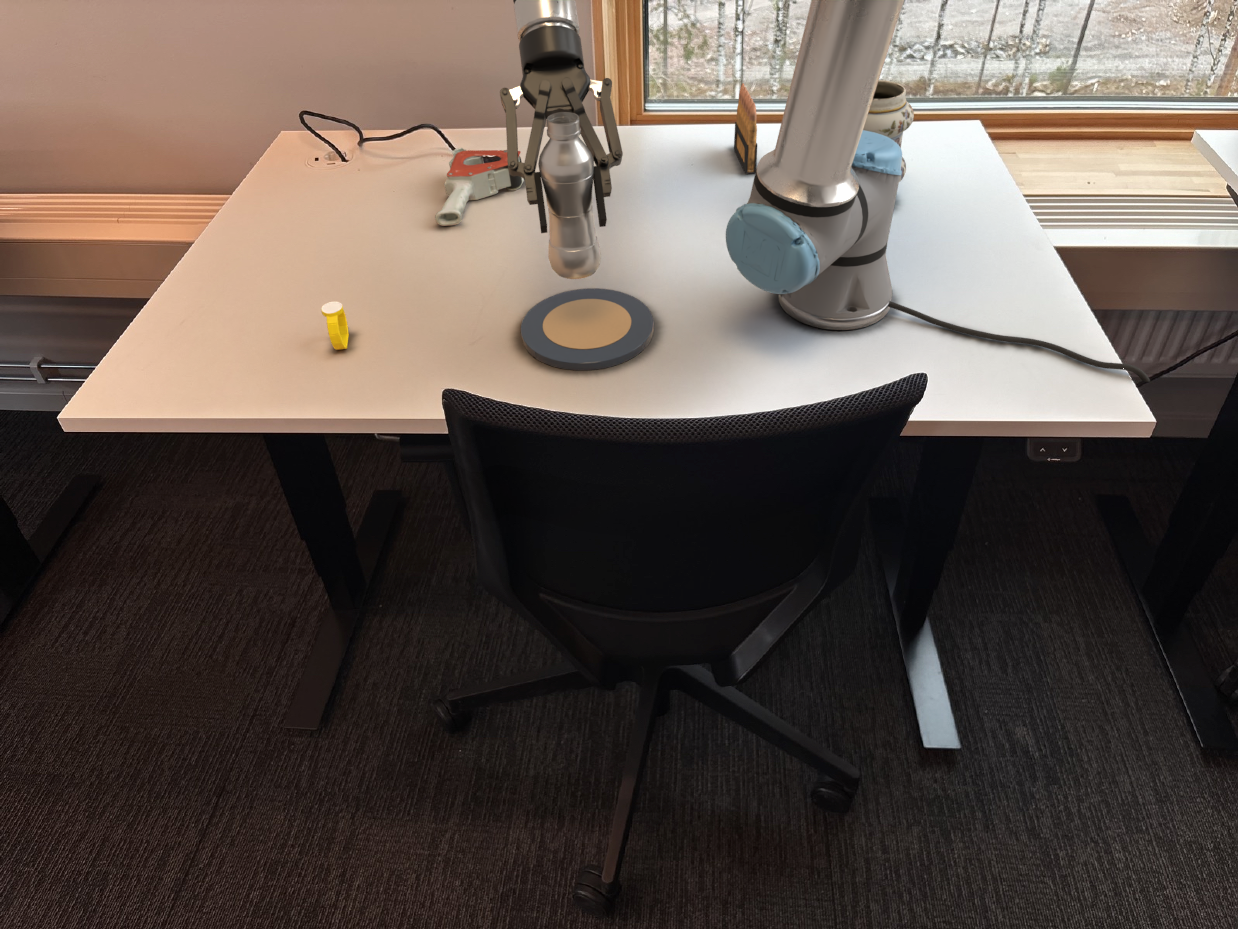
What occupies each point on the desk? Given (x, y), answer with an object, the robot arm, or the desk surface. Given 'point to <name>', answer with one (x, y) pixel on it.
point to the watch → (336, 324)
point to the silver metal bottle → (569, 198)
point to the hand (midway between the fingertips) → (573, 225)
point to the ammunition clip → (746, 132)
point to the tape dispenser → (474, 181)
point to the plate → (587, 329)
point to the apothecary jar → (890, 114)
